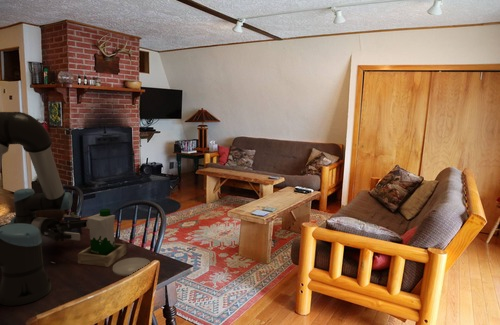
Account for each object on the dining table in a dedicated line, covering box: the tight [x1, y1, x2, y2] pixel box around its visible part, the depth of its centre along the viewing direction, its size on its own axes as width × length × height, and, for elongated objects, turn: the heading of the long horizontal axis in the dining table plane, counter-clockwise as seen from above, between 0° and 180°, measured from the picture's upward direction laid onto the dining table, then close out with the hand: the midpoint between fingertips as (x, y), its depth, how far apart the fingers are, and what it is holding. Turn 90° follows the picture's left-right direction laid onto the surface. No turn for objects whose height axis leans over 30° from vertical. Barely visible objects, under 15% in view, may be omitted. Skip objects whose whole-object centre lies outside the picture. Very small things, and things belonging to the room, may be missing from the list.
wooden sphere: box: [36, 210, 65, 222], centre depth 183 cm, size 15×15×15 cm
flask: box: [63, 211, 83, 236], centre depth 174 cm, size 9×3×11 cm, turn 76°
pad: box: [112, 257, 151, 277], centre depth 139 cm, size 14×14×1 cm
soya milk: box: [86, 208, 116, 256], centre depth 146 cm, size 9×9×20 cm
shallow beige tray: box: [77, 242, 128, 268], centre depth 147 cm, size 13×13×4 cm
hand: (90, 231), depth 148 cm, fingers open, 13 cm apart
